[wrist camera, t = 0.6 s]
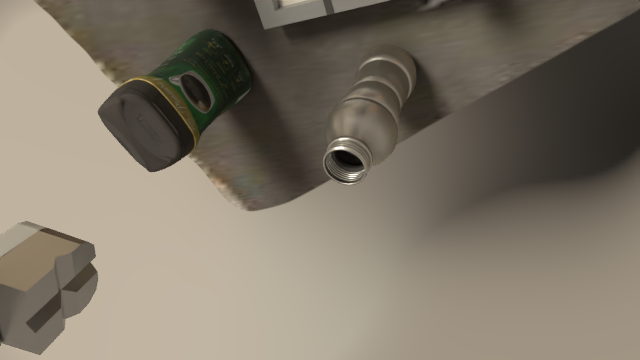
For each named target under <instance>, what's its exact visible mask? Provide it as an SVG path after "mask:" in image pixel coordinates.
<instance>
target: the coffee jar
mask: <svg viewBox="0 0 640 360" xmlns="http://www.w3.org/2000/svg"><path fill="white" fill-rule="evenodd" d="M251 87H252V77H251V74H250V72H249V70H248V68H247V66H246V64H245V62H244V61H243V59H242V57H241V56H240V55H239V53H238V52H237V50H236V49H235V48H234V46H233V45H232V44H231V42H230V41H229V40H228V39H227V38H226V37H225V36H224V35H223V34H222V33H220V32H218V31H215V30H204V31H201V32H199V33H197V34H196V35H194V36H193V37H191V38H190V39H189V40H187V41H186V42H185V43H184V44H183V45H181V46H180V47H179V48H178V49H177V50H176V51H175V52H174V53H173V54H172V55H171V56H170V57H169V58H168V59H167V60H166V61H165V62H164V63H163V64H161V65H160V66H159V67H158V68H157V69H155V70H154V71H153V72H151V73H150V74H148V75H143V76H138V77H135V78H132V79H130V80H128V81H127V82H125V83H123V84H122V85H121V86H119V87H118V88H117V89H116V90H115V91H114V93H112V95H111V96H110V97H109V98H108V99H107V100H106V101H105V102H104V103H103V104H102V105H101V107H100V108H99V110H98V114H99V116H100V118H101V120H102V122H103V123H104V125H105V126H106V127H107V129H108V130H109V131H110V132H111V133H112V134H113V136H114V137H115V138H116V139H117V140H118V141H119V143H120V144H121V145H122V146H123V147H124V148H125V149H126V150H127V151H128V152H129V153H130V155H131V156H132V157H133V158H134V159H135V160H136V161H137V162H138V163H139V164H141V165H142V166H143V167H145V168H146V169H147V170H148V171H149V172H156V171H159V170H162V169H165V168H167V167H169V166H171V165H173V164H175V163H176V162H177V161H179V160H181V159H182V158H183V157H185V156H186V155H188V154H190V153H191V152H192V151H193V150H194V149H195V148H196V146H197V144H198V142H199V139H200V136H201V134H202V132H203V131H204V130H205V129H206V128H207V127H208V126H209V125H210V124H211V123H212V122H213V121H214V120H215V119H217V118H218V117H219V116H220V115H222V114H223V113H224V112H226V111H227V110H228V109H230V108H231V107H232V106H233V105H235V104H236V103H237V102H238V101H240V100H241V99H242V98H243V97H244V96H245V95H246V94H247V93H248V92H249V91H250V89H251Z"/></svg>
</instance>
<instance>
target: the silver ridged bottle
mask: <svg viewBox="0 0 640 360" xmlns="http://www.w3.org/2000/svg"><path fill="white" fill-rule="evenodd" d="M416 80H417V76H416V67H415V64H414V62H413V60H412V58H411V57H410V56H409V54H408V53H406V52H405V51H404V50H402V49H400V48H399V47H396V46H391V45H382V46H378V47H375V48H374V49H372V50H370V51H369V52H368V53H367V54H365V55H364V56H363V58H362V59H361V60H360V62H359V64H358V68H357V71H356V77H355V81H354V84H353V87H352V88H351V90H350V91H349V92H348V94H347V95H346V96H345V97H344V98H343V99H342V100H341V101H340V102H339V103H338V104H337V105H336V106H335V108H334V109H333V110H332V112H331V113H330V114H329V116H328V118H327V122H326V138H327V142H328V144H329V146H328V148H327V152H326V153H325V155H324V158H323V167H324V170H325V172H326V173H327V175H328V176H329V177H330V178H331V179H333V180H334V181H336V182H338V183H340V184H344V185H355V184H358V183H359V182H361V181H362V180H363V179H364V178H365V177H366V175H367V172H368V171H369V169H370V168H371V166H374V165H377V164H380V163H381V162H383V161H384V160H385V159H386V158H387V157H388V156H389V155H390V154H391V153H392V152H393V150H394V149H395V146H396V144H397V138H398V125H399V117H400V112H401V108H402V106H403V105H404V103H405V101H406V100H407V99H408V98H409V96H410V95H411V93H412V92H413V90H414V88H415V85H416Z"/></svg>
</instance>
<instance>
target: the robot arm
mask: <svg viewBox="0 0 640 360" xmlns="http://www.w3.org/2000/svg"><path fill="white" fill-rule="evenodd" d="M95 256H96V255H95V248H94V245H93V244H91V243H89V242H86V241H84V240H81V239H78V238H75V237H72V236H69V235H66V234H64V233H60V232H57V231H55V230H51V229H49V228H45V227H43V226H40V225H37V224H34V223H31V222H28V221H26V222H21V223H17V224H16V225H14V226H13V227H11V228H10V229H8V230H7V231H6V232H4V233H2V234H1V235H0V346H1V343H3V344H6V345H10V346H13V347H16V348H19V349H23V350H26V351H29V352H32V353H35V354H39V355H40V354H42V352H43V351H44V350H45V349H46V348H47V347H48V346H49V345H50V344H51V343H52V342H53V341H54V340H55V339H56V338H57V336H59V334H60V333H61V332H62V331H63V330H64V328H65V319H66V318H69V317H71V316H74V315H76V314H78V313H80V312H81V311H82V310H83V309H84V308H85V307H86V306H87V304H88V303H89V302H90V300H91V298H92V296H93V294H94V293H95V291H96V287H97V282H98V274H97V271H96V269H95V268H94V266H93V265H92V264H91V261H92V260H93V259H94V258H95Z"/></svg>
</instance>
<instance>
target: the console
mask: <svg viewBox="0 0 640 360" xmlns="http://www.w3.org/2000/svg"><path fill="white" fill-rule="evenodd" d="M385 1H389V0H254V2H255V5H256V7H257V10H258V13H259V16H260V18H261V21H262V24H263V27H264V30H265V29H269V28H273V27H278V26H282V25H286V24H291V23H295V22H299V21H303V20H308V19H312V18H316V17H321V16H325V15H330V14H334V13H338V12H342V11H346V10H351V9H355V8H359V7H363V6H368V5H372V4H376V3H381V2H385Z"/></svg>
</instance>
